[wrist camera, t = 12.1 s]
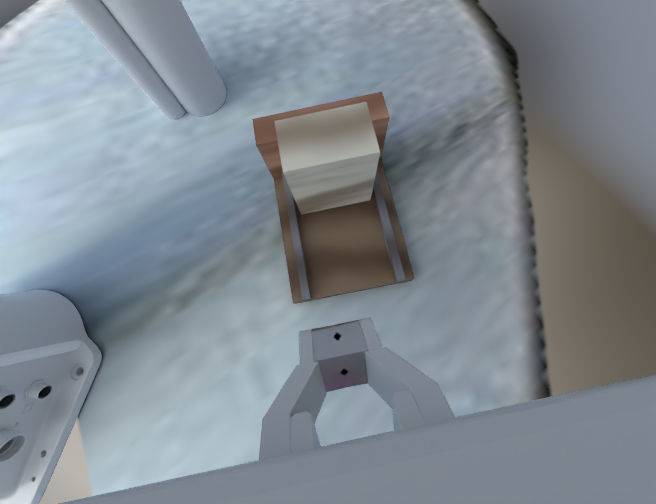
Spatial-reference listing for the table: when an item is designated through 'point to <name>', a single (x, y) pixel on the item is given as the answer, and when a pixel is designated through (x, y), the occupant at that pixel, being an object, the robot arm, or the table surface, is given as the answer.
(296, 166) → the cream rectangular block
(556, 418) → the robot arm
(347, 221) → the track
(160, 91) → the vase
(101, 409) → the table surface
